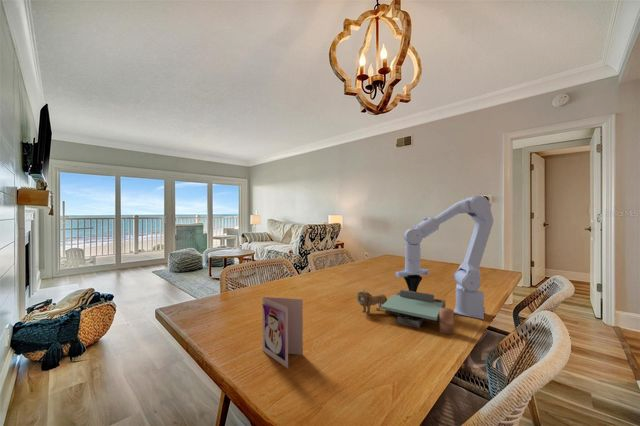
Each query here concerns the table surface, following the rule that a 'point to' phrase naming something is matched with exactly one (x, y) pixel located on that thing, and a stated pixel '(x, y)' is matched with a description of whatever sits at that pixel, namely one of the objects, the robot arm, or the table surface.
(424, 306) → the lid
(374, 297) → the lion figurine
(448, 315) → the key peg
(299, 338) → the greeting card
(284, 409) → the table surface
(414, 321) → the dark grey box base
